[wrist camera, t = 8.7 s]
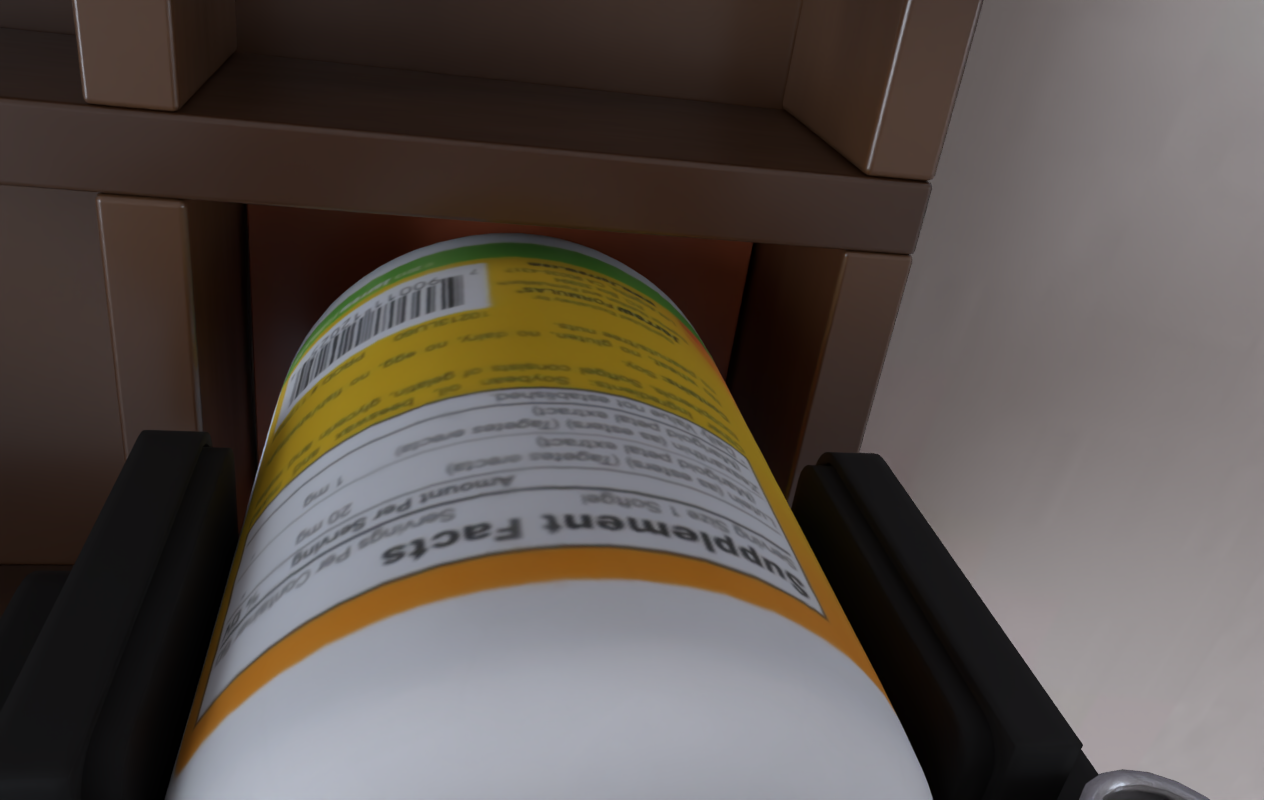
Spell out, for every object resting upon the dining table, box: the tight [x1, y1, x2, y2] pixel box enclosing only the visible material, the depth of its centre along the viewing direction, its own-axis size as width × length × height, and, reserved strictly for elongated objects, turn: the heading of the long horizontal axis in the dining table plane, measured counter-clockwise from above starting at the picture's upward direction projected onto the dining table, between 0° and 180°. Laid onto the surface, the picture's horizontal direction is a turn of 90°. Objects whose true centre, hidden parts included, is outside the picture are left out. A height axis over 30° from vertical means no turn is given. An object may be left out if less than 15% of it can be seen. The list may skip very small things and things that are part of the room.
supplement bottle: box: [164, 233, 933, 800], centre depth 9 cm, size 5×5×10 cm
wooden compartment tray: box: [0, 0, 983, 618], centre depth 11 cm, size 15×15×4 cm
